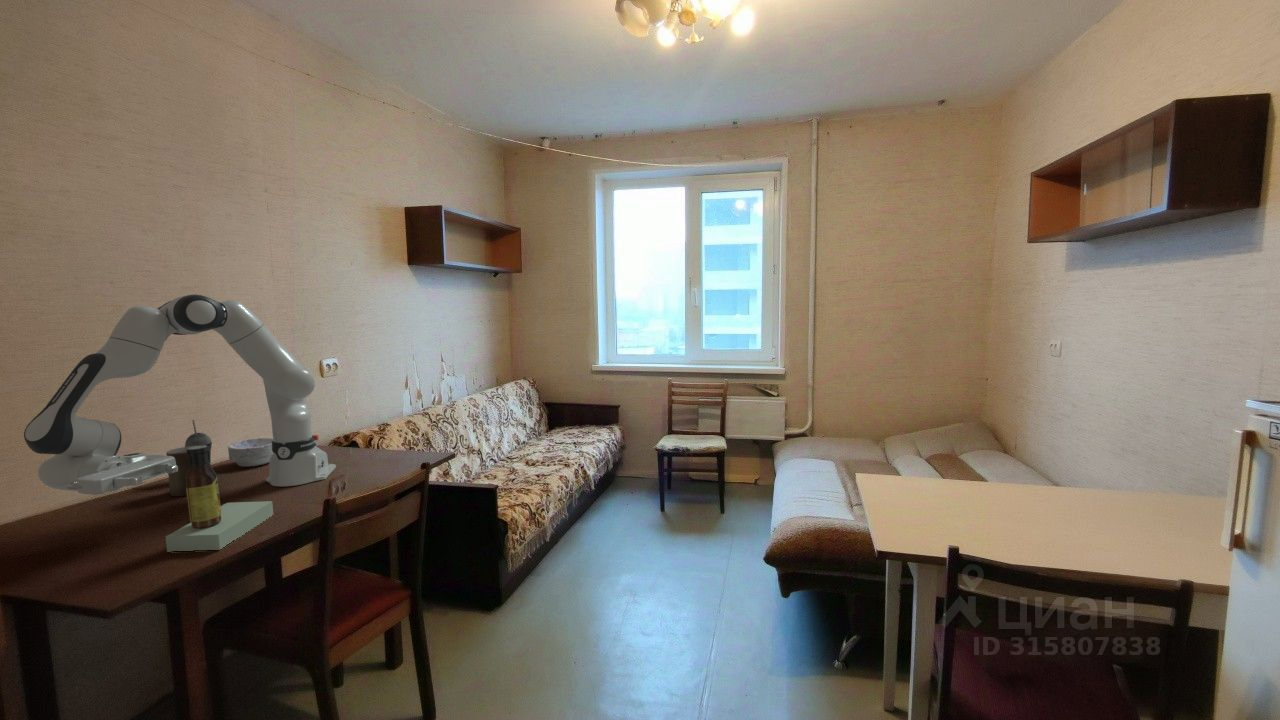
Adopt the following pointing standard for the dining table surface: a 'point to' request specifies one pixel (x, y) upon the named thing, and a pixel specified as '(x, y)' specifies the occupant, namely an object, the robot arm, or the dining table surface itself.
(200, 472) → the sauce bottle
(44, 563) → the dining table surface
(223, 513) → the pale green rectangular block
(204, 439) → the beverage cup
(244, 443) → the paper bowls
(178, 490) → the pillar candle
